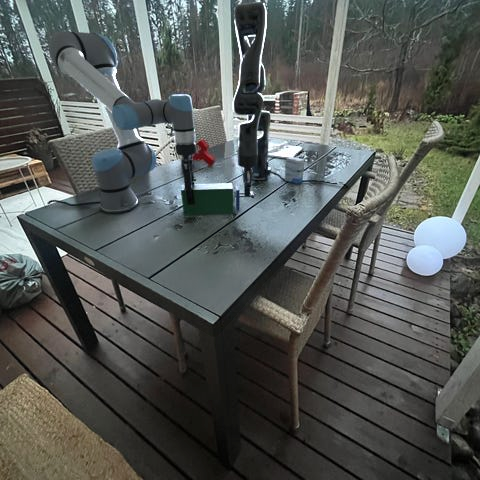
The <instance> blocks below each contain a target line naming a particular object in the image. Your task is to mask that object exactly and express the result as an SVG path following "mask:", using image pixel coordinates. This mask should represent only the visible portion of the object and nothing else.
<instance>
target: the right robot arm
mask: <svg viewBox="0 0 480 480" xmlns="http://www.w3.org/2000/svg"><path fill="white" fill-rule="evenodd" d="M233 14H234V25H235V33H236V38H237V43H238V48H239V55H240V64H239V78H238V79H239V80H238V85H237V88H236V92H235V94H234V97H233V101H232V109H233V112H234V114H236V115H237V116H247V117H246V120H247V121H244V122H241V123H239V124H238V131H237V133H238V135H237V136H238V137H237V138H238V139H237V141H238V142H237V165H238V167H241V173H242V182H243V193H244V194H243V196H244V195H250V192H251V188H252V184H253V181H256V182H257V181H265V180H268V179H269V177H270V176H271V174H273V175H275V176H277V177H278V178H279V179H280V180H282V181H285V177H282V176H281V175H280V174H279V173H277V172H276V171H272V167H269V156H268V145H269V139H270V129H271V112H270V111H267V110H263V109H264V106H265V100H264V97H263V93H264V90H265V88H266V72H265V68H264V65H263V63H262V55H263V49H264V43H265V38H266V32H267V31H266V30H267V9H266V6H265V3H264V2H262V1H254V2H245V3H239V4H237V5H236V6H235V7H234V13H233ZM248 37H254V38H253V40H252V42H251V44H250V42H249V39H248ZM258 132H261V133H262V134H261V135H259V136H258V134H259V133H258ZM317 180H318V179H305V180H304V179H303V180H302V181H301V183H313V182H314V183H323V184H329V185H338V184H337V183H336V182H335V183H330V182H331V181H327V182H325V181H326V180H321V181H317ZM285 182H286V181H285ZM338 182H339V181H338ZM339 183H344V182H342V181H340V182H339ZM342 185H343V186H344V187H346V188H348V187H349V186H348V184H346V183H345V184H342Z"/></svg>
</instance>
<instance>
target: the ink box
mask: <svg viewBox="0 0 480 480" xmlns="http://www.w3.org/2000/svg"><path fill="white" fill-rule="evenodd" d="M305 162H306V159H304V158H299V157H296V156H294V157H289V158H287V159H286V158H285V169H284V179H285V182H289V183H293V184H295V185H298V184H300V183H302V182H301V181H302V180H304V173H305V171H304V170H305Z"/></svg>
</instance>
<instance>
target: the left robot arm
mask: <svg viewBox="0 0 480 480" xmlns="http://www.w3.org/2000/svg"><path fill="white" fill-rule="evenodd" d="M48 53H49V57H50V59H51V61H52V63H53V65H54V66H55V67H56V68H57V69H58V70H59V71H60V72H61V73H62V74H63V75H65V76H66V77H70V78H72V79H73V80H75V81H76V82H77V83H78V84H79V85H80V86H81V87H83V89H85V90H86V92H88V93H89V94H91V95H92V96H93V97H94V98H95V99H96V100H97V101H98V102H100V103H101V104H102V106H103V108H104V110H105V113H106V115H107V118H108V120H109V122H110V124H111V127H112V129H113V132H114V134H115V137H116V139H117V141H118V145H117V147H115V148H114V147H113V148H109V149H103V150H100V151H98V152H96V153H94V154H93V155H92V158H91V164H92V170H93V171H94V174H95V177H96V180H97V183H98V187H99V190H100V200H99V201H89V202H80V203H69V202H68V201H63V200H58V199H51V200H49V201H47V203H46V204H47V205H50V204H51V203H59V204H65V205H67V206H69V207H79V206H86V205H87V206H88V205H96V204H97V205H99V204H100V209H101V211H102V212H103V213H106V214H111V215H113V214H114V215H117V214H122V213H126V212H130V211H132V210H134V209H136V208H137V207H138V205H139V200H138V197H137V196H136V194H135V193H134V190H132V188H131V185H130V181H129V180H131V179H133V178H137V177H139V176H142V175H145V174H148V173H149V172H152V171H154V169H155V168H156V166H157V155H156V152H155V150H154V148H153V147H152V146H151V145H149V144H148V143H146V141H145V139H143V138H142V137H140V136H139V133H138V131H137V129H140V128H145V127H149V126H154V125H160V124H168V125H169V124H170V125H172V130H173V133H171V135H172V136H173V137H174V142H175V143H174V147H175V153H176V155H178V156H181V167H182V174H183V182H184V183H183V184H185V188H184V190H186V194H187V202H188V205H191V204H195V202H194V192H193V187H192V184H196V182H197V179H196V178H195V171H194V161H193V157H192V155H193V154H195V153H196V152H197V150H196V144H197V142H196V140H197V139H196V129H195V121H194V107H193V101H192V97H191V96H190V95H189V94H186V93H185V94H180V93H179V94H178V93H176V94H170V95H169V97H168V100H167V99H166V100H165V99H158V98H155V99H154V98H153V99H148V100H147V101H140V102H135V101H134V100H133V99H132V98H130V97H129V96H128V95H127V94H125V92H123V91H122V90H121V89H120V86H119V83H118V81H117V79H116V78H117V77H116V73H117V66H118V63H119V61H118V54H117V50H116V48H115V46H114V44H113V43H112V42H111V40H110V39H109V38H108V37H106V36H105V35H103V34H100V33H96V32H84V31H83V32H82V31H69V30H60V31H56V33H54V34H53V35H52V36H51V37H50V39H49V41H48ZM182 156H183V158H182Z"/></svg>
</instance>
